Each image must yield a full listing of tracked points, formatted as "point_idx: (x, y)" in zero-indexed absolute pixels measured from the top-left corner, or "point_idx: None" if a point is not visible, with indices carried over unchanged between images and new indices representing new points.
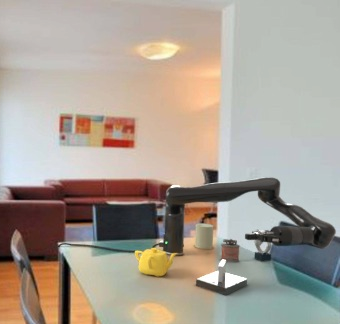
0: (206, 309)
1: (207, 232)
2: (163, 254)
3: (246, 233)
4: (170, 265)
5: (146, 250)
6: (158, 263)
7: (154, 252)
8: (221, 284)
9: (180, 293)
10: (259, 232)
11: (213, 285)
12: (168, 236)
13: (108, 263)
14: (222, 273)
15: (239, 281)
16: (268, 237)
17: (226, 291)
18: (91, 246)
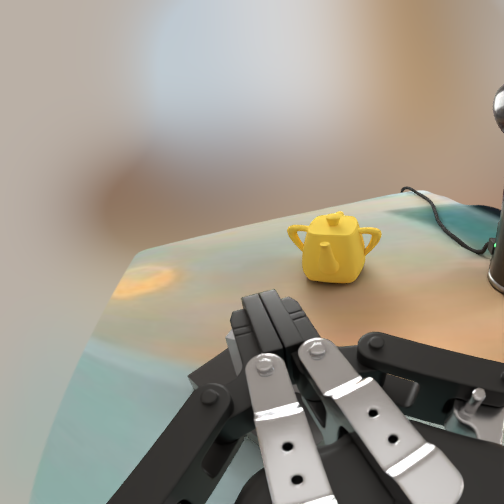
0: (127, 337)
1: None
2: (321, 234)
3: (272, 291)
4: (319, 268)
5: (341, 216)
6: (303, 248)
7: (328, 224)
8: (220, 372)
9: (210, 309)
10: (337, 390)
11: (220, 355)
12: (498, 229)
13: (360, 225)
14: (231, 355)
15: (254, 430)
16: (161, 451)
17: (192, 384)
18: (430, 203)
